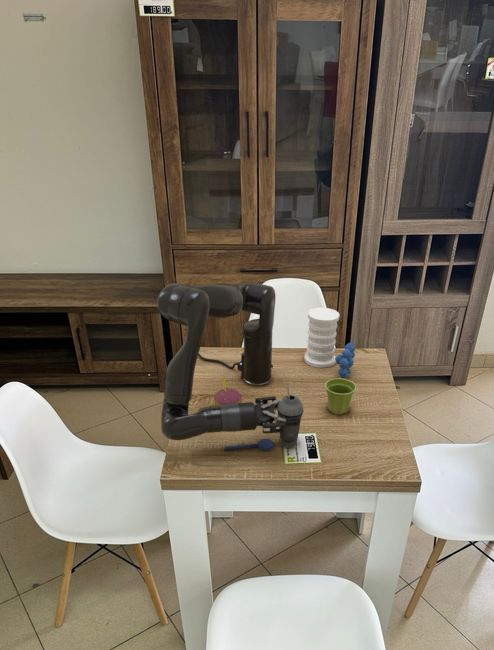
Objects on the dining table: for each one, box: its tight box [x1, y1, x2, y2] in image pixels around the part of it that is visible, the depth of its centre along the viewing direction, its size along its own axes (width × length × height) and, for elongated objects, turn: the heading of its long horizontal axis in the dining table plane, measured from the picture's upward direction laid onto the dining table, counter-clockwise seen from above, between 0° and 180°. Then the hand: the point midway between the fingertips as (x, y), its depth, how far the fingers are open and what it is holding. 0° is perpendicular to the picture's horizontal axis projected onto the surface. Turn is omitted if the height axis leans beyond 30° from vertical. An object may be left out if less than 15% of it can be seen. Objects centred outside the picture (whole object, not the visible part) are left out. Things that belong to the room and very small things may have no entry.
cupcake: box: [213, 375, 243, 406], centre depth 163 cm, size 9×8×12 cm
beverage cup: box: [276, 380, 304, 449], centre depth 149 cm, size 7×7×20 cm
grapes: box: [335, 342, 356, 379], centre depth 185 cm, size 12×7×12 cm, turn 158°
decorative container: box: [303, 307, 340, 369], centre depth 192 cm, size 12×12×18 cm
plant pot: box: [324, 377, 357, 415], centre depth 167 cm, size 9×9×9 cm
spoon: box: [223, 438, 275, 451], centre depth 152 cm, size 14×4×1 cm, turn 102°
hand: (296, 412), depth 149 cm, fingers open, 8 cm apart
